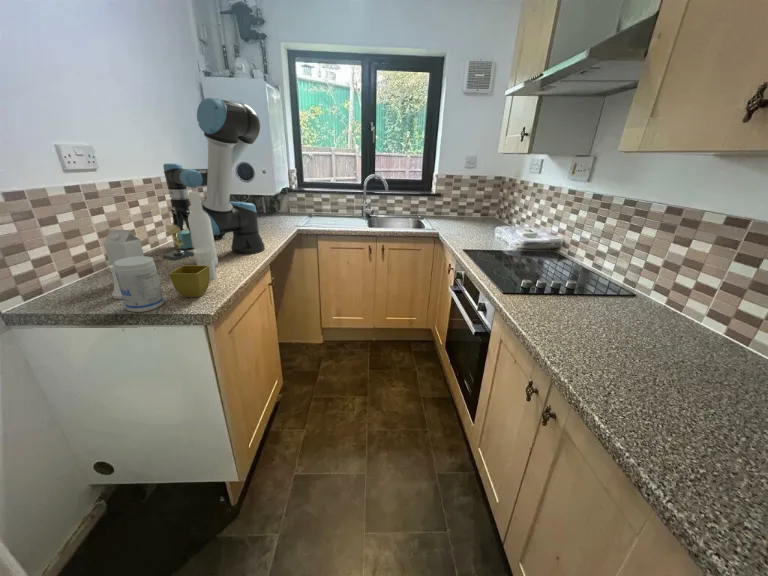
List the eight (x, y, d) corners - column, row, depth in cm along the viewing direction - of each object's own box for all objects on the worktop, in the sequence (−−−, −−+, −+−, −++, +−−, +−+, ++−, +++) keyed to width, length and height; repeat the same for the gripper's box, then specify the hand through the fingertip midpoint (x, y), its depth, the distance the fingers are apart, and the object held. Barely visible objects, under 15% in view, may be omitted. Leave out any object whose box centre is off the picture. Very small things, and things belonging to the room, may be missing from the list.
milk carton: (132, 277, 118) (117, 227, 110) (150, 278, 117) (136, 227, 110) (116, 284, 111) (99, 231, 104) (135, 285, 111) (120, 232, 104)
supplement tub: (118, 309, 94) (103, 262, 88) (150, 297, 102) (138, 254, 96) (141, 315, 91) (127, 267, 85) (172, 303, 99) (161, 258, 93)
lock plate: (195, 255, 145) (194, 250, 144) (175, 260, 138) (174, 255, 137) (183, 252, 149) (181, 247, 148) (163, 257, 142) (162, 251, 141)
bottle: (218, 262, 137) (206, 190, 126) (218, 267, 131) (205, 192, 119) (197, 264, 134) (183, 191, 123) (196, 270, 127) (180, 193, 116)
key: (180, 247, 147) (175, 224, 143) (188, 254, 137) (183, 230, 133) (170, 249, 144) (165, 225, 140) (177, 256, 134) (172, 231, 130)
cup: (209, 274, 123) (203, 247, 119) (222, 276, 121) (217, 249, 117) (194, 279, 118) (188, 251, 113) (208, 282, 116) (202, 253, 111)
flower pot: (188, 289, 109) (182, 264, 106) (214, 289, 110) (209, 265, 106) (174, 300, 101) (167, 273, 98) (202, 300, 102) (196, 273, 98)
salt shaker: (107, 296, 102) (97, 266, 98) (132, 288, 109) (124, 260, 105) (121, 300, 100) (112, 270, 96) (146, 292, 106) (138, 264, 102)
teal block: (203, 245, 159) (200, 231, 157) (184, 249, 152) (181, 234, 150) (194, 242, 163) (191, 229, 161) (176, 246, 156) (172, 232, 154)
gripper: (158, 197, 150) (169, 243, 159) (185, 201, 142) (195, 249, 150) (174, 195, 157) (183, 240, 165) (201, 199, 148) (209, 246, 156)
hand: (189, 245), depth 158 cm, fingers closed on teal block, 8 cm apart
